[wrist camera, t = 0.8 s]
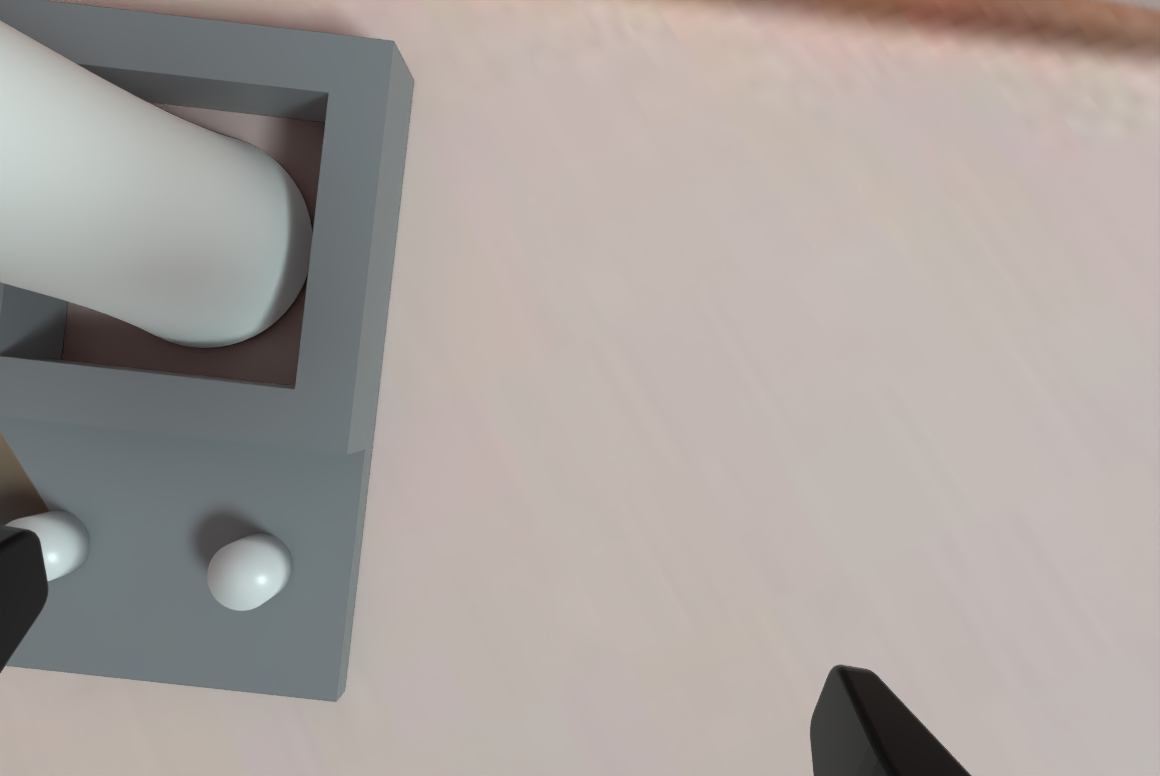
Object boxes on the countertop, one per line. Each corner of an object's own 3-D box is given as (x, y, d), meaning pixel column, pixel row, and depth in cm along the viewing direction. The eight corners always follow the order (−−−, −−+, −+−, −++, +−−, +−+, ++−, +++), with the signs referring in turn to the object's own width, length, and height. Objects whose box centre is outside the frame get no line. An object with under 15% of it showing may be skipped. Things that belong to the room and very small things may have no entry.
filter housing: (344, 690, 22) (316, 728, 20) (-26, 649, 22) (-102, 683, 20) (414, 80, 22) (393, 40, 20) (45, 37, 22) (-23, -8, 20)
